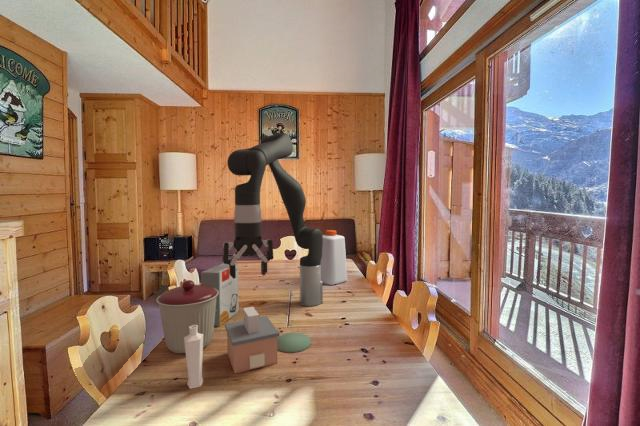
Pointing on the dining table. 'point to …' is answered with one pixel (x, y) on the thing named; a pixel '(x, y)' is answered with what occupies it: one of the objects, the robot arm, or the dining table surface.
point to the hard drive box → (223, 291)
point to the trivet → (293, 342)
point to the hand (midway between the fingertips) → (248, 276)
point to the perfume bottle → (194, 357)
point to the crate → (252, 354)
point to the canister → (187, 313)
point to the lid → (250, 328)
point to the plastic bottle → (333, 259)
